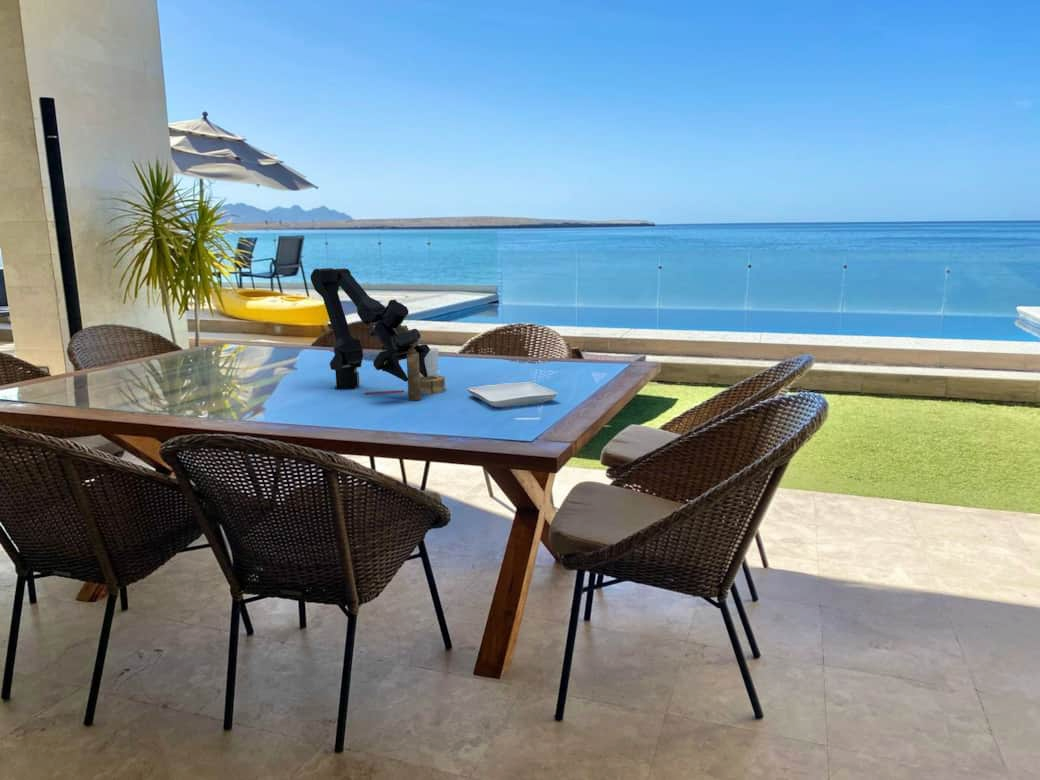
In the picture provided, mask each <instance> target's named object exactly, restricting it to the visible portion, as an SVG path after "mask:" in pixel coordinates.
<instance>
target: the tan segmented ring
mask: <svg viewBox="0 0 1040 780" xmlns="http://www.w3.org/2000/svg"><path fill="white" fill-rule="evenodd" d="M445 390H446V381H445V376H443V375H439V374H438V375H428V376H427V377H424V376H423V375H420V393H421V395H435V394H441V393H443V391H444V392H445ZM440 392H441V393H440Z"/></svg>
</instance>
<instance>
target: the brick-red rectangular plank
mask: <svg viewBox="0 0 1040 780" xmlns="http://www.w3.org/2000/svg"><path fill="white" fill-rule="evenodd" d="M396 392H401V393H405V390H404V389H402V390H401V389H399V390H381V391H365V392H364V395H373V394H372V393H381V394H394V393H396Z"/></svg>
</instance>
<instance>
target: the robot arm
mask: <svg viewBox="0 0 1040 780" xmlns="http://www.w3.org/2000/svg"><path fill="white" fill-rule="evenodd" d="M310 281H311V284H312V286H313V288H314V290H315V292H316V293H317V294H318V295H319V296H320V297H321V298H322V300H323V303H324V306H325V309H326V312H327V315H328V318H329V321H330V325H331V328H332V332H333V335H334V338H335V343H334V347H333V353H334V355H333V358H332V359H331V360H330V362H329V367H330V370H331V371H335V383H336V384H335V387H334V389H335V390H354V389H356V388H358V387H359V386H360V372H359V371H358V369H357V368H361V367H362V363H363V358H364V352H363V351H364V348H363V347H362V343H361V340H360V339H359V338H354V336H352V333H351V330H350V327H349V324H348V320H347V317H346V315H345V312H344V311H345V310H344V308H343V305H342V302H341V299H340V296H339V291H340V290H339V289H340V288H341V290H342V291H343V292H344V293H345V294H346V296H348V298H349V299H350V300H351V301H352V303H353V304H354V306H355V307H356V313H357V316H358V317H359V319H360V320H361V322H362V323H363V324H364V325H366V326H367V325H374V324H375V326H374V327H371V328H370V335H369V336H370V337H371V338H374V337H377V339H378V341H379V342H380V343H381V345H382V347H381V350H382V351H379V352H378V354H377V355H376V357H375V359H374V360H373V363H372V364H373V367H374V369H375V370H376V371H380V370H382V372H387V374H390V375H393V376H394V377H396V378H398V379H400V380H402V381H403V382H405V383H406V382H407V383H408V377H407V374H406V373H405V371H404V369H403V368H402V366H401V364H400V362H399V361H403V360H407V355H406V354H407V353H408V352H409V350H410V349H412V347H413V344H414V343H415V342H419V339H421V337H422V336H421V332H420V331H419V330H418V329H417V328H412V329H410V330H409V331H404V332H401V333H400V334H399V333H398V332H397V330H396V329H398V328H400V326H401V325H402V324H403V323H404V320H406V318H407V316H409V312H410V311H409V308H408V307H407V306H405V305H404V304H403V303H401V302H399V301H397V300H396V299H390V300H389V301H388V303H387V305H386V307H385V305H383V304H382V303H381V302H380V301H379V300H377V299H375V298H373V297H371V296H370V295H368V293H367V292H366V291H365V289H364V288H362V286H361V285H360V283H358V281H357V280H356V278H354V277H353V275H352V273H351V271H350V270H349V269H348V268H344V267H343V268H334V267H326V268H315V269H313V270H312V272H311V274H310ZM430 348H431V347H429V345H428V344H425V343H423V344H417V345H415V346H414V348H413V349H415V350H416V352H417V353H419V370H420V373H421V374H422V375H423V376H424V377H427V376H428V374H427V370H426V366H425V360H424V358H425V357H426V355H427V354H428V353H429V351H430Z"/></svg>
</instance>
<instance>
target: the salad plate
mask: <svg viewBox="0 0 1040 780" xmlns="http://www.w3.org/2000/svg"><path fill="white" fill-rule="evenodd" d="M467 392H469V393H470V394H471V395H472V396H473V397H475V398H477V399H479V400H481V401H483V402H485V403H487V404H488V405H490V406H492V407H495V408H499V407H502V408H511V406H513V407H520V406H519V405H522V406H527V405H526V404H530V405H535V404H534V403H539V404H542V403H541V402H543V403H545V402H549V401H551V400H553V399H555V398H556V397H557V396H558V395H559V393H558V392H557V391H555V390H551V389H549V388H548V387H544V386H542V385H539V384H537V383H534V382H531V381H523V382H522V381H521V382H508V383H498V384H489V385H482V386H475V387H474V386H473V387H467Z"/></svg>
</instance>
